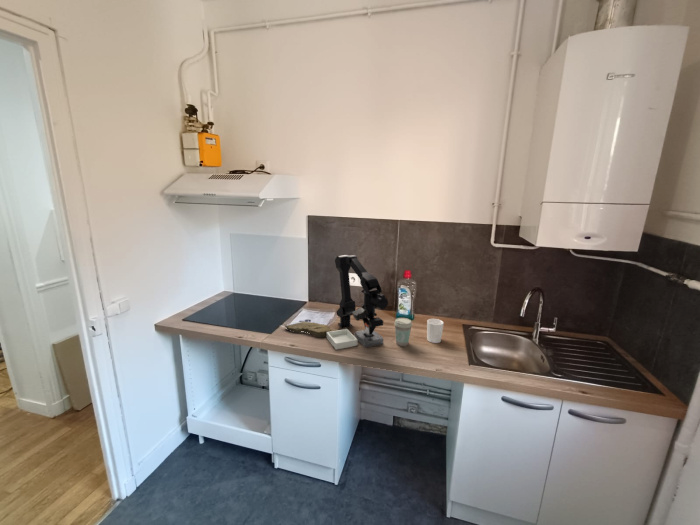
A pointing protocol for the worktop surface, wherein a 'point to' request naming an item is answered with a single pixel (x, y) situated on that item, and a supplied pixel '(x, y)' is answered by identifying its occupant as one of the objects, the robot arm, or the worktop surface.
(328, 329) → the stone slab
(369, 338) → the block
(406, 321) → the coffee cup
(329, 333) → the parts tray
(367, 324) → the grey copper-tipped cylinder
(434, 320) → the white cup
